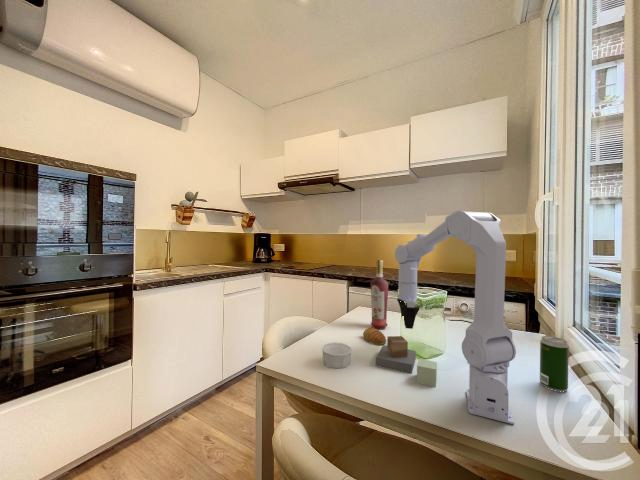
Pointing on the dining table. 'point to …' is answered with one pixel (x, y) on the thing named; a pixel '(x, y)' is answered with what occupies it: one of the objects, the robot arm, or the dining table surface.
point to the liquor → (379, 298)
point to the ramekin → (336, 355)
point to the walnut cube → (397, 346)
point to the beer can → (554, 363)
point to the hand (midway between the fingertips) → (407, 324)
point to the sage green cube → (427, 372)
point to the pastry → (374, 336)
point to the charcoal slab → (396, 361)
